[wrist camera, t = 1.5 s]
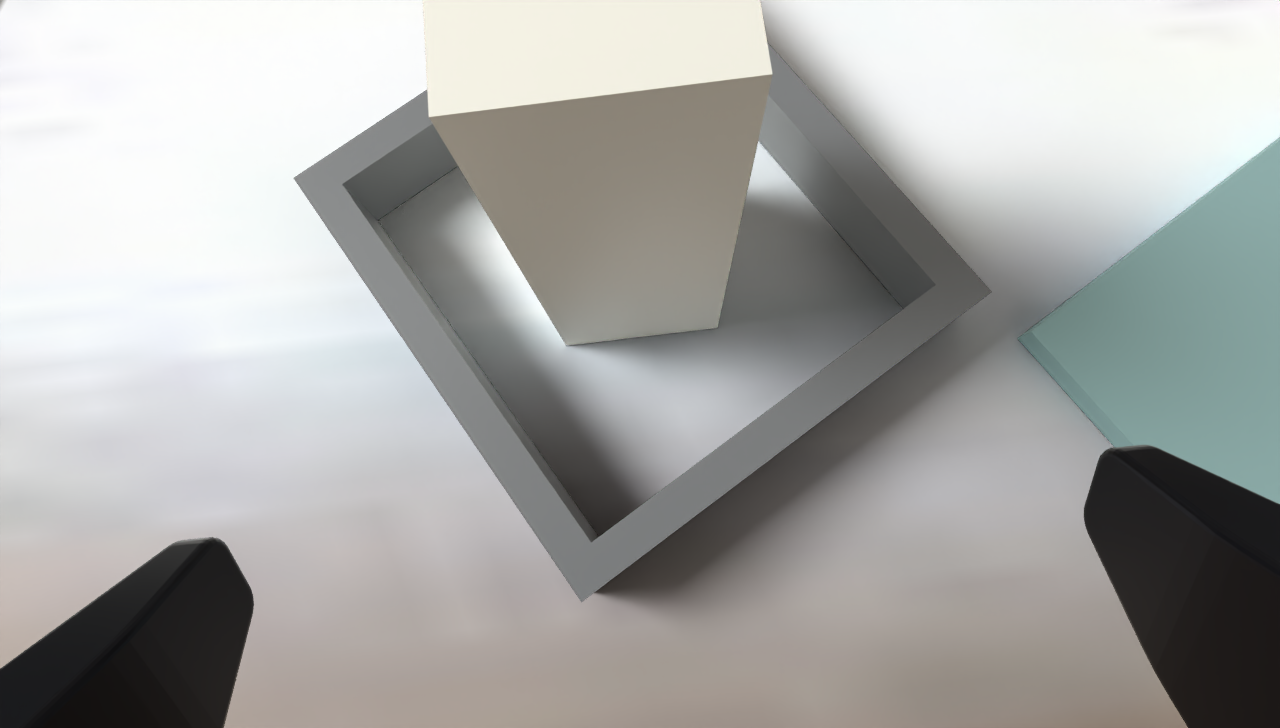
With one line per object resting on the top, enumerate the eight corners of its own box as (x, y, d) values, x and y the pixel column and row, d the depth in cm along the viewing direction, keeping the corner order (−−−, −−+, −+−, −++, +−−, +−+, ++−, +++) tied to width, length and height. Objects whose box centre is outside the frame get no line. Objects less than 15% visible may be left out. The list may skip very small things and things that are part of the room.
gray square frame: (955, 318, 21) (992, 291, 19) (592, 593, 20) (581, 602, 18) (667, -10, 24) (667, -70, 22) (333, 214, 23) (293, 178, 21)
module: (717, 328, 22) (772, 74, 10) (566, 345, 22) (429, 117, 10) (698, 187, 23) (726, -206, 10) (553, 205, 23) (414, -163, 11)
